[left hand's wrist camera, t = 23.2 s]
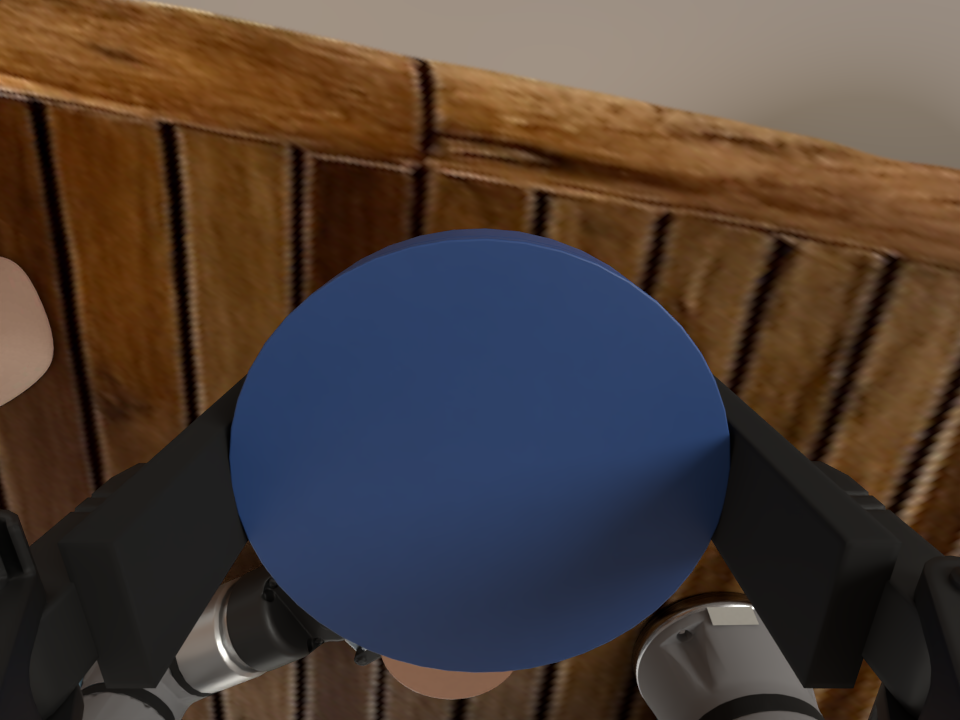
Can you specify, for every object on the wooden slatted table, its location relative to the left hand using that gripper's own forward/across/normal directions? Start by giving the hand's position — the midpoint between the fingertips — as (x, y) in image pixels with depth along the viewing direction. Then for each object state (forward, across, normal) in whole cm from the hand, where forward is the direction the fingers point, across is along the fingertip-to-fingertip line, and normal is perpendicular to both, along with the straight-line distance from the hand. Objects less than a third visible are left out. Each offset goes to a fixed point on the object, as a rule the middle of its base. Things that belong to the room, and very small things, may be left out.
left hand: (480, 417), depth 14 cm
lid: (-3, 0, 0) cm, 3 cm away
